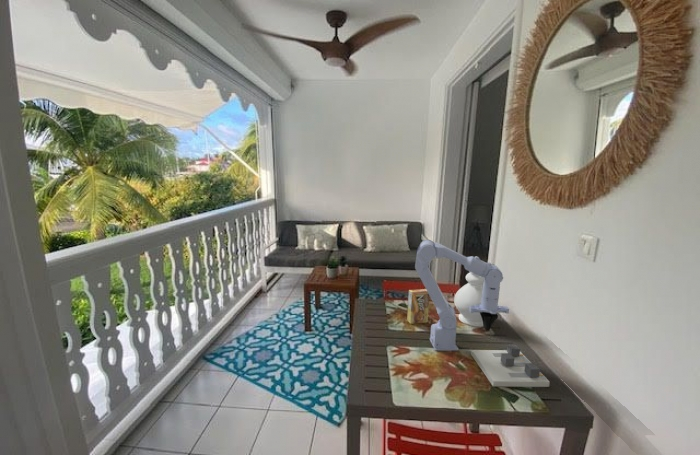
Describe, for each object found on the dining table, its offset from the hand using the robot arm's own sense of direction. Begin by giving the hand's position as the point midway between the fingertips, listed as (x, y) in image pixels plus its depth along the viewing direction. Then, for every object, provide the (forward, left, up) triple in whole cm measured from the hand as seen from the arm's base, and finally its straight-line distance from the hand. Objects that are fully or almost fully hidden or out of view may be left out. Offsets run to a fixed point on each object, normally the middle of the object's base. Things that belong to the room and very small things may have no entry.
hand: (486, 329), depth 111 cm
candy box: (-21, +23, -10) cm, 33 cm away
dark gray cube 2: (+3, -10, -7) cm, 13 cm away
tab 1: (+8, -5, -7) cm, 12 cm away
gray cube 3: (+8, -16, -7) cm, 19 cm away
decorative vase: (+6, +25, -10) cm, 27 cm away
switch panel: (+3, -11, -9) cm, 14 cm away
